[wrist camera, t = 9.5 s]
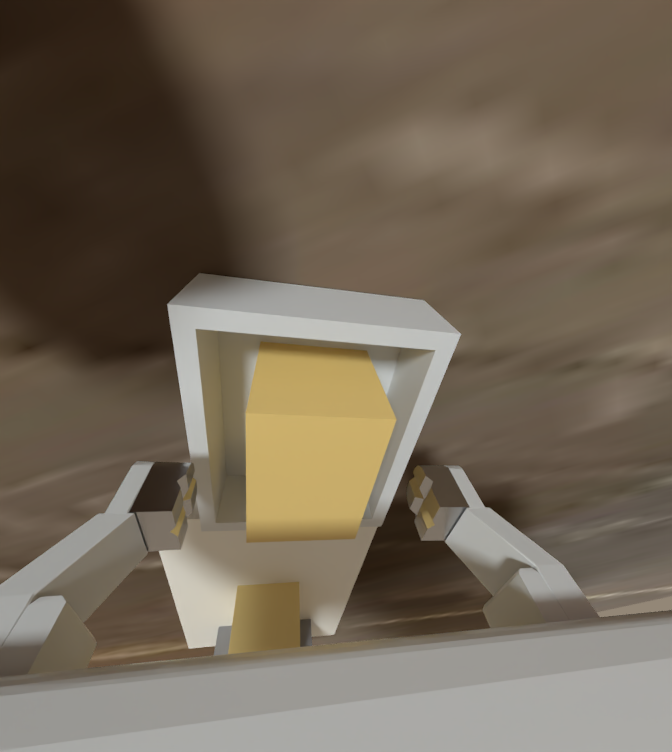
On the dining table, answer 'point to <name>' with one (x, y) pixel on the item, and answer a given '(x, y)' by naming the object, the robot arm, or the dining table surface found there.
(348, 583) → the board
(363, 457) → the stub
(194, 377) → the stub tray
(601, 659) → the robot arm
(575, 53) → the dining table surface
